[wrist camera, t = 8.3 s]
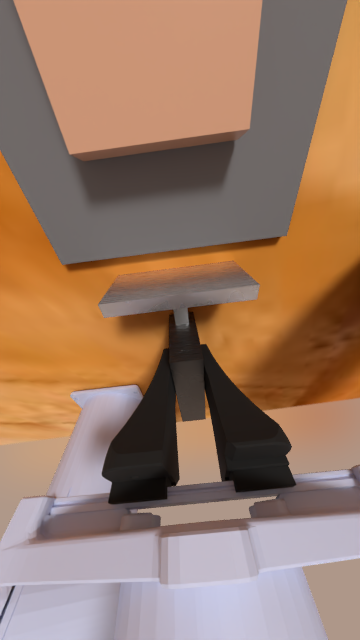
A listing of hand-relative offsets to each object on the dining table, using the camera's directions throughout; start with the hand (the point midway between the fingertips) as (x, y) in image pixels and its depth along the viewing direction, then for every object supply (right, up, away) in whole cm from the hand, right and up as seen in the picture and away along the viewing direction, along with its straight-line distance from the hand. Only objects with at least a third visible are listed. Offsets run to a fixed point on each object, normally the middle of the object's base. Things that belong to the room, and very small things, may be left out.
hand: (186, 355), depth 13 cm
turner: (0, +2, +2) cm, 2 cm away
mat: (-2, +15, -8) cm, 17 cm away
